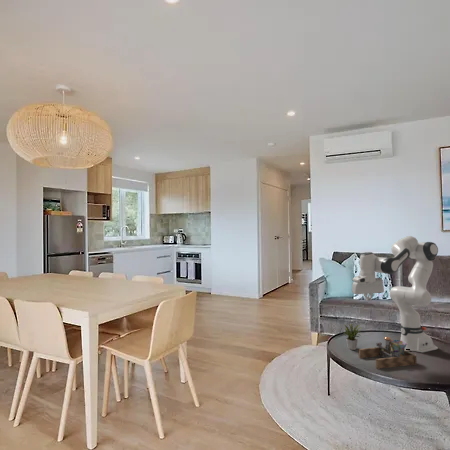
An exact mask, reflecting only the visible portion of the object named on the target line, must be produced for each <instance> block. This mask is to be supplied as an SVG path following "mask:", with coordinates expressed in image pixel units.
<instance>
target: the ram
mask: <svg viewBox="0 0 450 450" xmlns="http://www.w3.org/2000/svg"><path fill="white" fill-rule="evenodd" d="M391 339H392V338H391V336H384V340H385V346H386V348H385V346H383V345H382V344H383V343H382V342H376V347H380V356H379V357H381V358H390V357H396V356H397V357H400V354H401V352H393V351H391V350H390V346H391V345H390V340H391ZM384 350H386V351H387V352H389V353H391V354H393V356H392V355H390V354H388V353H386V352H384Z"/></svg>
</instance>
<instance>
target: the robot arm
mask: <svg viewBox="0 0 450 450" xmlns="http://www.w3.org/2000/svg"><path fill="white" fill-rule="evenodd" d="M391 253H392V255H393V256H394V257H393V256H392V257H382V256H377V255H375V254H374V252H371V251H367V252H362V253H361V254H360V257H359V268H360V272H359V275H357V276H355V277H352V281H353V282H352V284H351V285H352V286H351V288H352V289H351V291H352V292H351V293H352V294H354V295H363V296H364V298H365V301H366V302H371V301H372V298H373V295H374V294H382V293H384V292H385V288H384V287H385V286H384V281H383V278H381V277H376V273H380V274H387V275H394V274H395V273H396V272H398V269H399V268H400V267H401V266H402V265H403V264H404V263H405V262H406V261H407V260H416V262H415V263H414V265H413V267H412V269H411V270H410V273H409V274H408V282H409V284H410V285H412V286H410V287H409V286H402V285H401V286H400V285H397V286H392V287H391V289H390V290H389V296H390V299H391V300H392V301H393V302H394V303H395V304H396V307H397V309H398V310H399V316H400V329H399V330H400V339H399V340H400V341H404V342H406V343H407V345H406V347H405V350H406V349H410V350H409V352H411V351H412V352H418V353H427V352H431V351H435V350H438V349H439V347H438V346H437V345H435V344H434V342H433V339H432V337H430V336H429V335H428V334H426V333H425V332H424V331H427V327H425V326H421V314H420V313H419V312H418V311H417V310H416V309H415V308H414V307H413V306H417V307H427V306H429V305H430V304H431V302H432V295H431V293H430V292H429V290H428V289H427V284H428V281H429V279H430V277H431V275H432V272H433V268H434V262H433V261H434V260H435V259H436V257H437V255H438V253H439V247H438V246H437V244H436V243H435V242H432V241H426V242H425V241H421V242H419V241H418V240H417V238H416V237H414V236H412V235H409V236H405V237H403V238H401V239H398V240H397V241H395V242H394V243H393V244H392V246H391ZM368 295H369V296H368Z"/></svg>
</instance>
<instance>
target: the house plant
mask: <svg viewBox="0 0 450 450" xmlns="http://www.w3.org/2000/svg"><path fill="white" fill-rule="evenodd" d="M359 326H360V324H357V325H356V326H355V327H354V325H353V324H352V323H350V325H349V328H350V329H349V328H348V326H347V325H346V324H344V327H345V328H344V327H343V329H344V330H345V331H344V332H342V333H343V334H344V336H345V337H346V339H345V340H346V345H347V348H348V350H351V351H353V350H357V347H358V339H359V338H360V336H361V337H362V335H361V333H360V334H359V332H361V330H360V329H361V327H359Z"/></svg>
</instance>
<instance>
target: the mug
mask: <svg viewBox="0 0 450 450" xmlns="http://www.w3.org/2000/svg"><path fill="white" fill-rule="evenodd" d="M406 345H407V343H406V342H404V341H400V339H395V338H394V339H392V338H391V340H390V346H391V351H393V352H401V354H400V356H404V349H405V347H406ZM405 350H406V349H405ZM390 355H392V356H393V354H390ZM396 357H397V356H396Z"/></svg>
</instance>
